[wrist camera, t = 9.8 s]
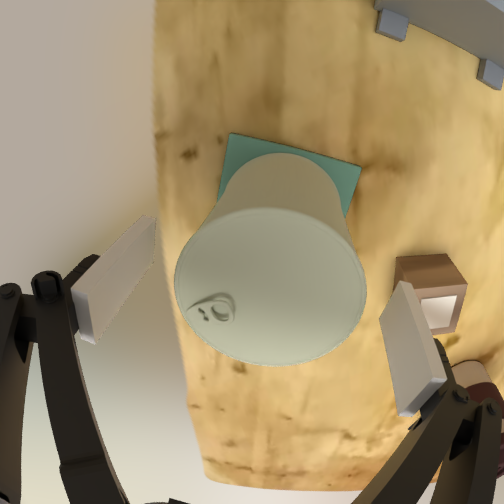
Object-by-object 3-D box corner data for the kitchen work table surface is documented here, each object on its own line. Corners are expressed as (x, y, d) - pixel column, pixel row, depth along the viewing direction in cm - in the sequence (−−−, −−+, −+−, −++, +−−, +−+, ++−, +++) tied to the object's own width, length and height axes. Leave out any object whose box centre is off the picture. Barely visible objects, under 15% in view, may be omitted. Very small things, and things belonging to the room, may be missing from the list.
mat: (231, 132, 23) (229, 133, 22) (360, 166, 23) (361, 168, 22) (210, 247, 28) (208, 250, 27) (322, 275, 28) (322, 279, 27)
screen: (380, -23, 15) (423, -77, 7) (507, 43, 15) (586, 40, 6) (368, 30, 18) (414, -5, 9) (498, 92, 17) (579, 107, 9)
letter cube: (396, 256, 26) (412, 290, 22) (446, 253, 25) (468, 285, 21) (391, 302, 28) (403, 339, 24) (437, 298, 27) (455, 333, 23)
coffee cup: (413, 403, 35) (430, 502, 22) (443, 351, 30) (480, 464, 17) (470, 398, 34) (495, 486, 21) (503, 349, 29) (545, 444, 16)
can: (205, 172, 24) (135, 243, 14) (323, 138, 22) (349, 184, 11) (245, 273, 28) (214, 382, 17) (351, 248, 26) (378, 357, 15)
